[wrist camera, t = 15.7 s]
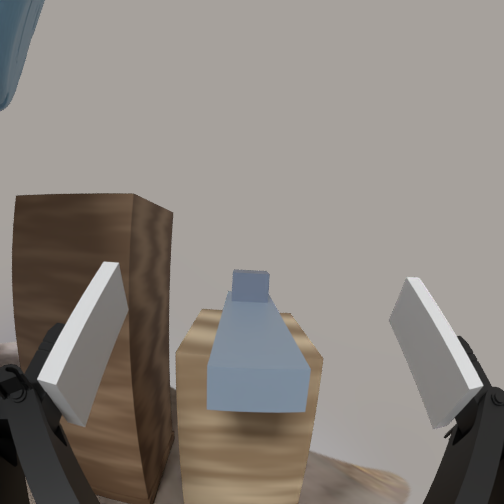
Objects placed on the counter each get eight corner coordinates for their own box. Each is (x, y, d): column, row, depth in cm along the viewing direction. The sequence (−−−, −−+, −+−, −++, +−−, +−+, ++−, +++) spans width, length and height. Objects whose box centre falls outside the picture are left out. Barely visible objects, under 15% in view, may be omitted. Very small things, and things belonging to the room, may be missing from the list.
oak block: (287, 542, 19) (323, 358, 18) (188, 539, 18) (175, 352, 18) (274, 464, 32) (290, 313, 32) (201, 461, 32) (202, 308, 31)
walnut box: (151, 508, 22) (135, 193, 21) (48, 478, 21) (13, 195, 21) (174, 437, 36) (175, 212, 36) (93, 422, 36) (83, 210, 35)
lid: (305, 412, 12) (316, 309, 11) (206, 409, 11) (208, 305, 11) (266, 312, 32) (269, 269, 31) (227, 310, 31) (229, 267, 31)
